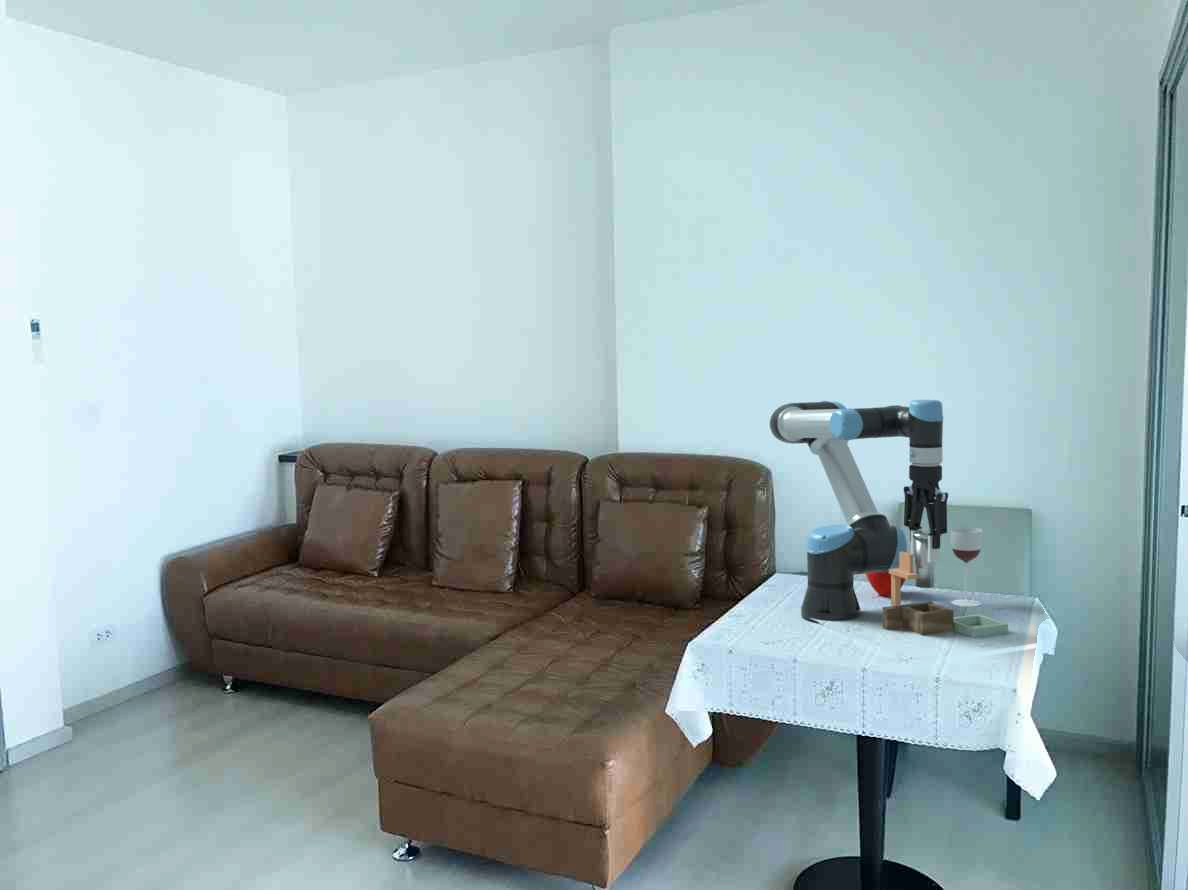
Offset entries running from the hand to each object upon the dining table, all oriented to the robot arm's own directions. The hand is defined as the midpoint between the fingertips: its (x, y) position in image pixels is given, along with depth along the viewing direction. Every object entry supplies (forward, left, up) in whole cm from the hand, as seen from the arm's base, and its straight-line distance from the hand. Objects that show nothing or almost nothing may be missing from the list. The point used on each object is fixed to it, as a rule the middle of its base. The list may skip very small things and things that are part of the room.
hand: (924, 558), depth 237 cm
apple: (-35, +14, -18) cm, 42 cm away
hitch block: (0, -2, -18) cm, 18 cm away
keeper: (0, -6, -12) cm, 13 cm away
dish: (+6, +10, -18) cm, 22 cm away
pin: (0, 0, -7) cm, 7 cm away
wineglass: (-18, +27, -18) cm, 37 cm away
